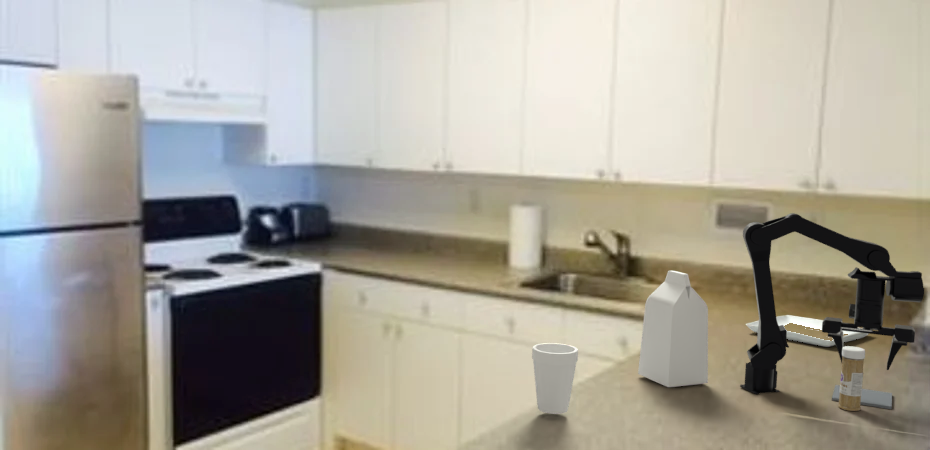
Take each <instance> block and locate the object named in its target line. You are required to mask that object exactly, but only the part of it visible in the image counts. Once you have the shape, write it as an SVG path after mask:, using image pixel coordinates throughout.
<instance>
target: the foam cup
mask: <svg viewBox="0 0 930 450" xmlns="http://www.w3.org/2000/svg"><path fill="white" fill-rule="evenodd" d="M531 351H532V353H531V358H532V361H533V371H534V372H533V373H534V382H535V384H534V385H535V394H536V404H537V405H536V406H537V410H538V411H540V412H542V413H545V414H546V413H547V414H552V415H553V414H554V415H555V414H556V415H558V414H565V413H568V411H569V405H570V400H571V394H572V388H573V383H574V379H575V373H576V366H577V362H578V360H579V358H578V357H579V349H578V347H576V346H574V345H570V344H565V343H559V342H557V343H555V342H545V343H543V342H542V343H537V344H534V345H533V346H532V348H531Z"/></svg>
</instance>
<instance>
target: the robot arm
mask: <svg viewBox="0 0 930 450" xmlns="http://www.w3.org/2000/svg"><path fill="white" fill-rule="evenodd" d="M792 233H797V234H799V235H803V236H805V237H807V238H809V239H812V240H814V241H816V242H819V243H821V244H823V245H825V246H827V247H829V248H832V249H834V250H836V251H839V252H841V253H842V254H845V255H846V256H847V257H849V258H851V259H852V260H853V261H855V262H857V263H858V264H859V265H861V266H863V267H865V268H867V269H868V270H870V271H866V270H865V271H864V270H861V269H860V268H858V267H855V268H854V269H853V270H852V271H850V272H849V273H848V274H847V277H849V278H850V279H852V280H853V279H855V280H857V281H856V293H855V304H853V303H849V309H848V318H849V319H853V321H854V322H853V323H852V322H843V318H841V317H833V316H831V317H830V316H825V318H823V319H822V320H823V323H822V331H821V332H822V333H823V334H824V333H826V334H827V337H828V338H832V339H833V340H834V342H835V344H836V345H835V347H836V348H837V353H838V356H839V359H840V362H841V363H840V364H842V348H843V347H845V343H843V336H844V334H843V331H851V332H860V333H869V334H871V335H880V336H888V337H892V339H891V345H890V349H889V353H888V356H887V357H888V358H887V362H886V371H889V370H890V367H891V366H892V364H893V362H894V361H895V360H894V359H895V357H896V356H897V354H898V353H899V351H900V349H901V348H902V347H903V346H904V347H907V346H908V343H909V344H910V343H912V344H913V343H915V338H916V337H915V336H916V330H915V328H914V327H913V325H903V324H896V323H895V324H894V327H886V326H883V323H884V322H883V321H884V307H885V304H884V303H885V295H886V296H887V297H890V298H891V301H895V302H899V301H900V302H912V303H913V302H914V303H921V302H922V301H923V300H924V295H925V288H924V282H923V278H922V276H923V273H922V272H920V271H919V270H917V271H916V270H911V271H903V270H896V268H895V267H894V266H893V264H892V263H891V257H890V255H891V254H890V252H889V250H888V249H887V248H885V247H884V246H882V245H880V244H877V243H874V242H873V241H872V242H871V241H866V240H863V239H859V238H854V237H850V236H847V235H844V234H842V233H839V232H837V231H834V230H832V229H830V228H827V227H825V226H823V225H821V224H819V223H815V222H813V221H812V220H809V219H807V218H805V217H802V215H800V214H798V213H795V212H794V213H793V212H792V213H789V214H786V215H785V216H781V217H778V218H774V219H771V220H766V221H765V222H759V221H753V222H750V223H748V224H746V226H744V228H743V231H742V237H743V241H744V243H745V247H746V250H747V252H748V256H749V259H750V261H751V266H752V275H753V281H754V289H755V298H756V305H757V311H758V321H759V325H758V333H757V335H756V336H757V337H756V338H757V339H756V341H757V342H756V343H755V344H754V345H753V346H751V347H750V348H749V349H748V350H747V351H746V354H747V358H748V359H749V362H745V372H744V383H743V384H740V385H739V387H740V388H742V389H744V390H746V391H748V392H749V393H753V394H755V395H760V394H769V393H779V392H780V390H779V389H777V386H778V385H777V384H778V371H777V365H778V364H777V363H778V362H780V361H781V360H782V359H783V358H784V357H785V356H786V355H787V348H790V346H789V344H788V341H787V340H786V337H787V330H786V329H785V327H784V326H783V325H780V326H778V323H777V319H776V317H777V314H776V313H777V311H776V304H775V297H774V289H773V283H772V280H773V279H772V273H771V266H770V259H771V253H772V252H771V250H772V241H775V240H778V239H780V238H782V237H784V236H787V235H790V234H792ZM876 271H877V272H879V273H881V274H883V275H885V276H882V275H877V273H876ZM859 328H860V329H859ZM861 328H862V329H861ZM869 334H868V335H869Z"/></svg>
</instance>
